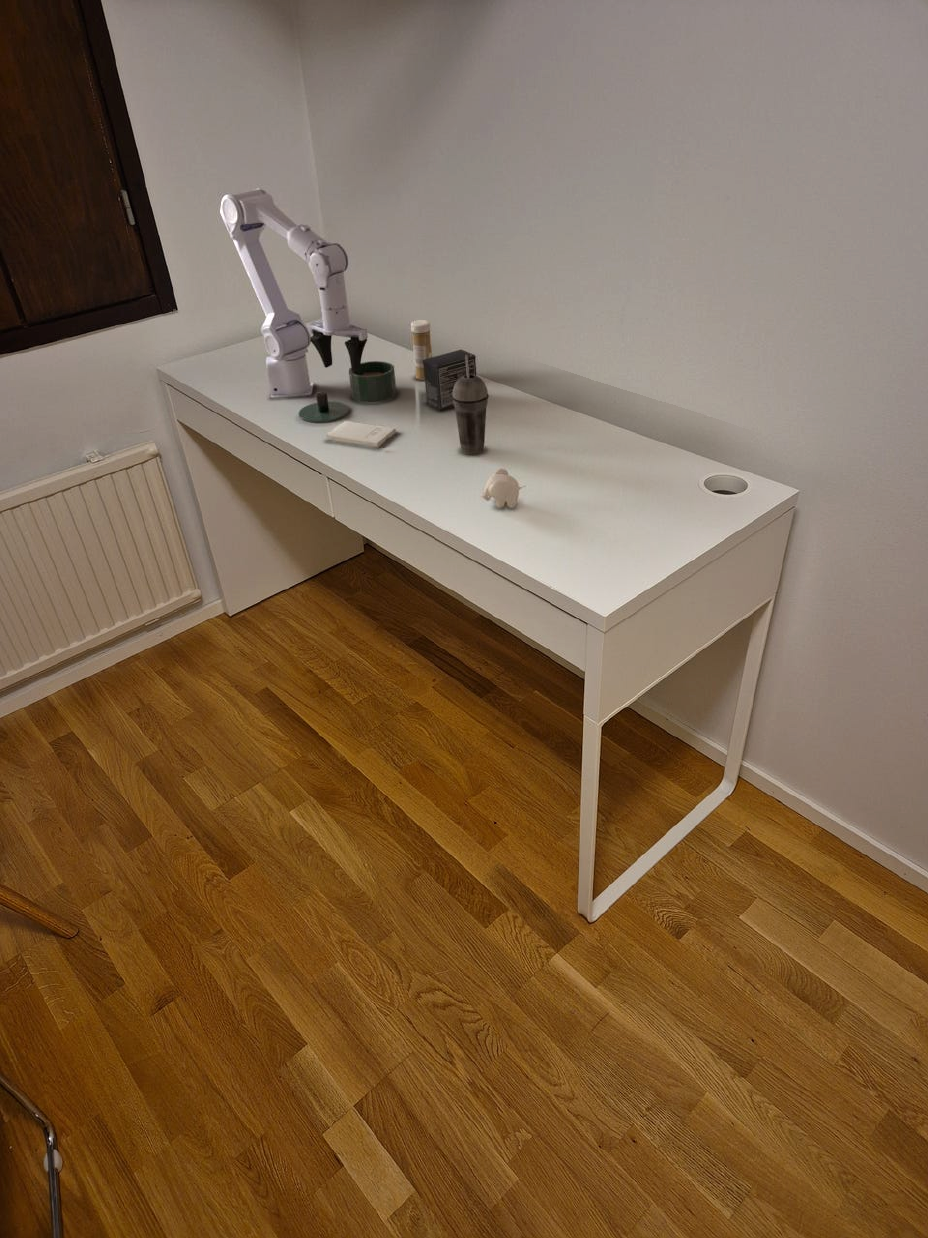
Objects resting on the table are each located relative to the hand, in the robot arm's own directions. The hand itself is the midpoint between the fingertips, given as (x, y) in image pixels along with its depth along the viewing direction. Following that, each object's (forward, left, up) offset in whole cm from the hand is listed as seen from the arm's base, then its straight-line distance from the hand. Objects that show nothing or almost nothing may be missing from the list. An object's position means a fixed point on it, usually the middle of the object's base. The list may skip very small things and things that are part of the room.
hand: (342, 368), depth 193 cm
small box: (+24, -2, -9) cm, 26 cm away
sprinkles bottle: (+18, +15, -9) cm, 25 cm away
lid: (-5, -5, -8) cm, 11 cm away
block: (+6, +5, -8) cm, 12 cm away
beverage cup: (+27, -29, -9) cm, 40 cm away
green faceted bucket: (+6, +5, -9) cm, 12 cm away
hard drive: (+4, -19, -9) cm, 21 cm away
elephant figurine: (+31, -53, -9) cm, 62 cm away
